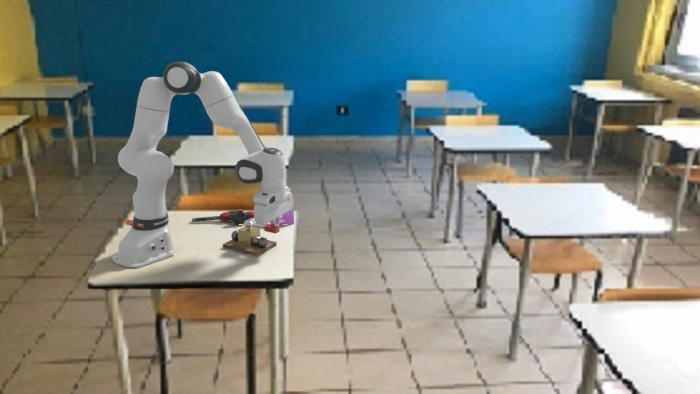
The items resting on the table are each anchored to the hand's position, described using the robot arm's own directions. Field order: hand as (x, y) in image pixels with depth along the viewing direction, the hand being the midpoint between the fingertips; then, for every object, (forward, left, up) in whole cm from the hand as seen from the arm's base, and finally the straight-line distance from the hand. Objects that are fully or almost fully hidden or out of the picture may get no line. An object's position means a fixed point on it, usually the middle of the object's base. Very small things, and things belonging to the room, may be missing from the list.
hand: (275, 228), depth 224 cm
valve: (+14, +38, -9) cm, 42 cm away
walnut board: (-3, +10, -9) cm, 14 cm away
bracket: (+22, +16, -9) cm, 29 cm away
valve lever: (-3, +4, 0) cm, 5 cm away
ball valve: (-3, +10, -7) cm, 13 cm away
